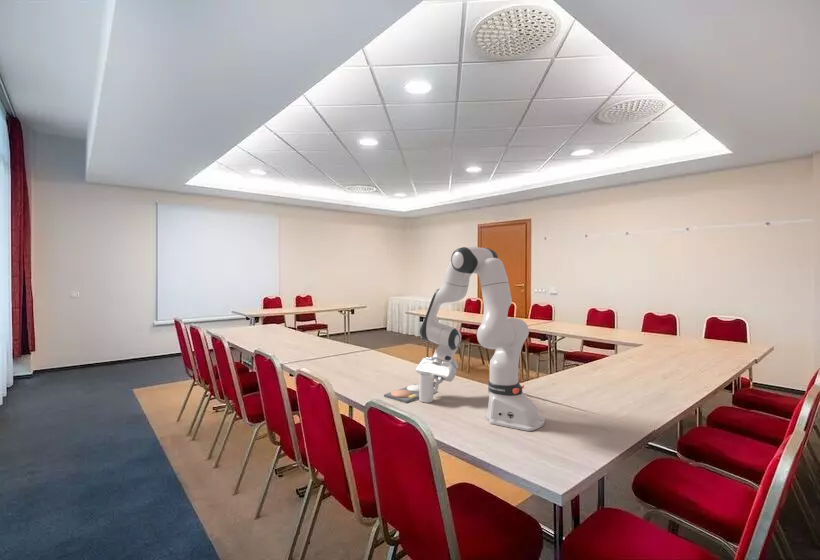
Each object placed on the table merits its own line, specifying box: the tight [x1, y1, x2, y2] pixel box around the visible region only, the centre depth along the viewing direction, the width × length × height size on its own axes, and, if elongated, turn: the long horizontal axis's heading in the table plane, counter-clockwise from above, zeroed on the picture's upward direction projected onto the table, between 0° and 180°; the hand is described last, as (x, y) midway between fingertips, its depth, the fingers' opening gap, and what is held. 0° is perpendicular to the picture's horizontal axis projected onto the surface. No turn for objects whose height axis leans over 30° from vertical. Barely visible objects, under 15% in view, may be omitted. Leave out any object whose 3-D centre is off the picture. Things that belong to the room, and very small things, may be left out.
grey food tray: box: [383, 383, 419, 404], centre depth 187 cm, size 14×22×2 cm, turn 138°
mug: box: [418, 372, 440, 404], centre depth 178 cm, size 10×7×12 cm, turn 120°
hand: (428, 385), depth 178 cm, fingers closed on mug, 6 cm apart
